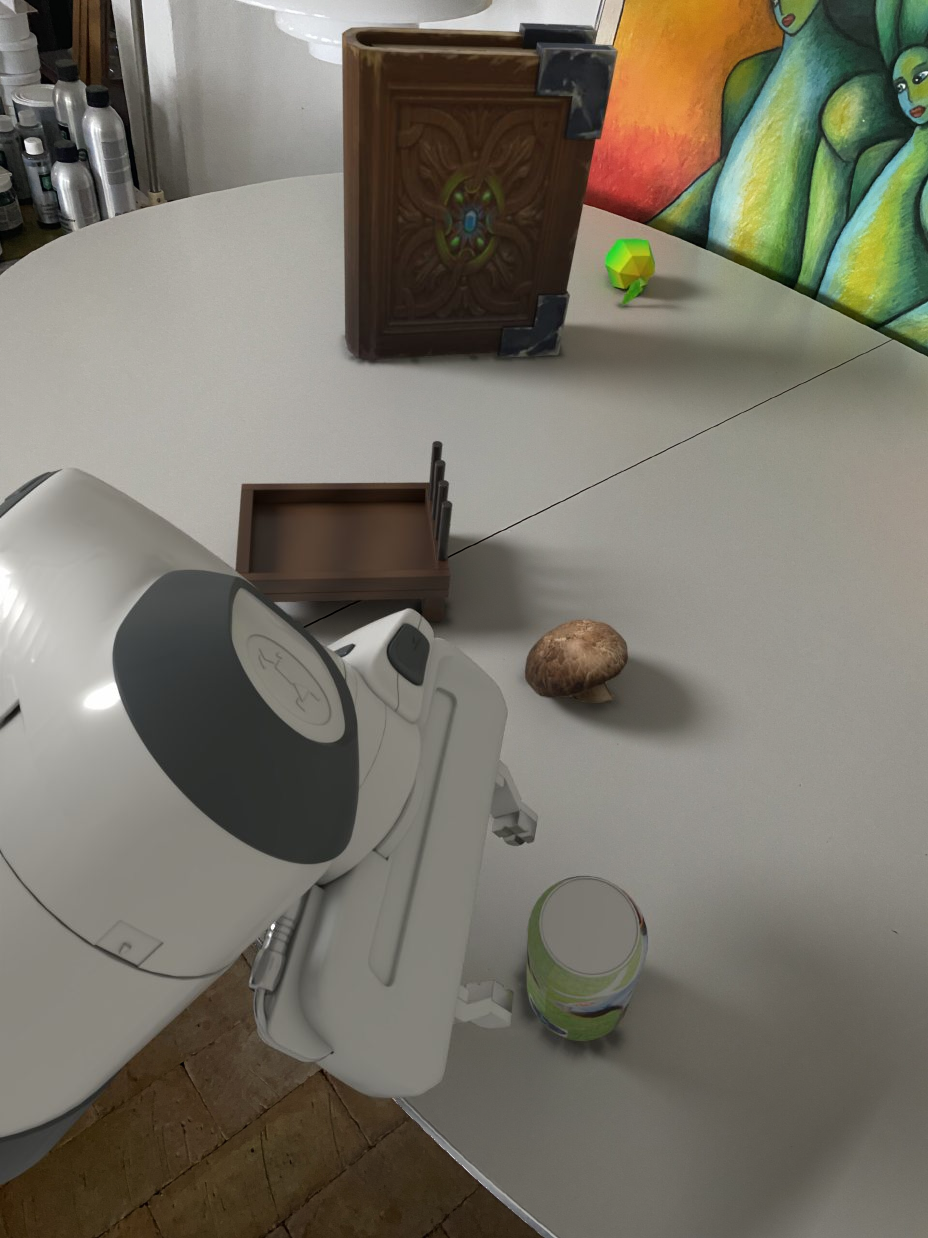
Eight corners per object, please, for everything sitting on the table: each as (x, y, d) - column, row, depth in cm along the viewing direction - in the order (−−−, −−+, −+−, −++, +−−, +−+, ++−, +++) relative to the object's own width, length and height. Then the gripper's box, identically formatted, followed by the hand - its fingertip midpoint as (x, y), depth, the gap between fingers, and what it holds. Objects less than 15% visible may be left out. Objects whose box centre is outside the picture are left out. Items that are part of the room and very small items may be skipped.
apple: (626, 214, 107) (655, 248, 101) (653, 246, 111) (682, 280, 106) (583, 258, 110) (608, 293, 104) (610, 287, 114) (637, 323, 109)
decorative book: (540, 321, 103) (591, 24, 80) (558, 355, 98) (618, 50, 76) (341, 330, 98) (337, 15, 75) (351, 366, 93) (350, 42, 71)
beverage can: (644, 1008, 52) (704, 928, 43) (548, 1082, 49) (590, 1014, 40) (578, 920, 55) (621, 829, 46) (483, 985, 52) (509, 900, 43)
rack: (241, 629, 68) (225, 525, 60) (247, 532, 75) (234, 427, 67) (445, 623, 70) (456, 522, 62) (432, 529, 77) (441, 428, 69)
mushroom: (657, 704, 63) (629, 630, 60) (554, 747, 63) (523, 675, 61) (626, 660, 70) (601, 593, 68) (535, 698, 70) (506, 633, 68)
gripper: (292, 1021, 28) (542, 1150, 35) (421, 582, 42) (583, 736, 49) (180, 1035, 32) (427, 1149, 39) (333, 626, 46) (495, 764, 52)
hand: (515, 916), depth 44 cm, fingers open, 8 cm apart
